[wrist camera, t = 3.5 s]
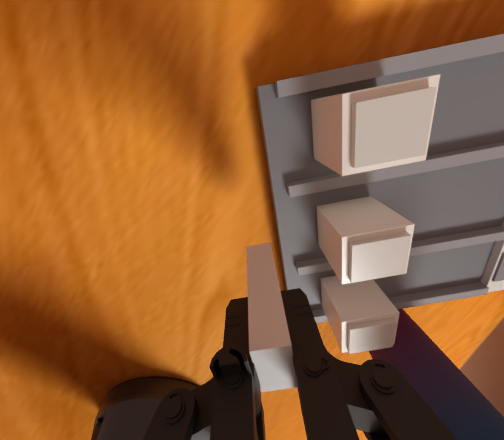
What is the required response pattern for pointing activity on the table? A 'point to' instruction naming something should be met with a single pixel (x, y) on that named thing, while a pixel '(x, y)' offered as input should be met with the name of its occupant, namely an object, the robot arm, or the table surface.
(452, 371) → the cup
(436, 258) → the switch bank
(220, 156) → the table surface
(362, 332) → the tab
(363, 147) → the tab
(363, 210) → the tab middle
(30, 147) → the table surface
